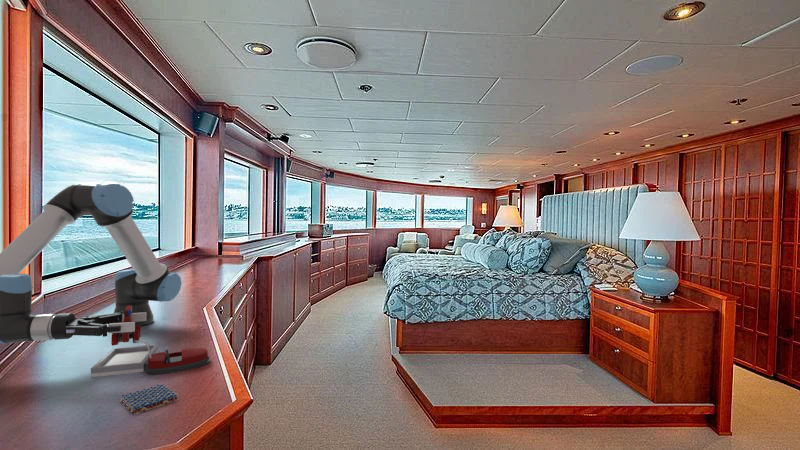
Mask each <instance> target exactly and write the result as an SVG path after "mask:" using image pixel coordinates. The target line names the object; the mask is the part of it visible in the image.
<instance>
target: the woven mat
mask: <svg viewBox="0 0 800 450" xmlns="http://www.w3.org/2000/svg"><path fill="white" fill-rule="evenodd" d="M157 393H158V394H157ZM121 397H122V398H121V400H119V402H120V403H122V405H123V406H125V405H124V404H127V405H128V408H127V407H126V406H125V409H126V408H127V409H126V410H128V411H129V409H130V410H131V409H132V410H131V411H130V413H131V414H133V413H132V412H134V414H133V415H136V414H137V413H138V414H140V412H141V413H143V412H146V411H149V410H152V409H155V408H160V407H162V406H165V405H167V404H171V403H173V402H174V403H175V402H177V401H179V400H180V398H178V397H179V394H178V393H176V392H175V391H174V390H173V389H170V388H169V387H167V386H166V385H164V384H157V385H156V386H154V387H153V386H150V388H147V389H146V388H144V389H143V390H140V391H139V390H136V392H133V393H132V392H129V394H126V395H124V394H123V395H121ZM122 401H124V402H122ZM138 414H137V415H138Z"/></svg>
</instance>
